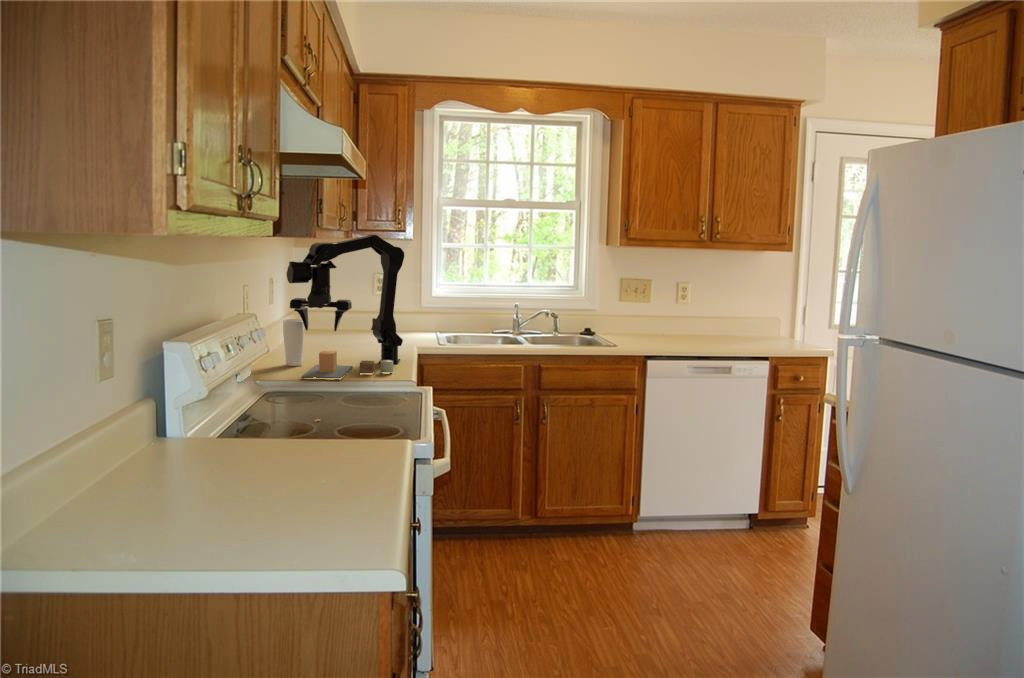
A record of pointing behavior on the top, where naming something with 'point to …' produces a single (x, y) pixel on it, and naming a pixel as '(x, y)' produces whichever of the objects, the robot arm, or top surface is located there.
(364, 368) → the walnut block
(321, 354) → the terracotta block
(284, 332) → the drinking glass
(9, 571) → the top surface
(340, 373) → the slate mat
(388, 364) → the sage cylinder
